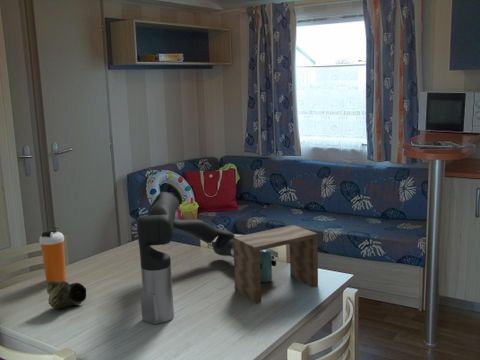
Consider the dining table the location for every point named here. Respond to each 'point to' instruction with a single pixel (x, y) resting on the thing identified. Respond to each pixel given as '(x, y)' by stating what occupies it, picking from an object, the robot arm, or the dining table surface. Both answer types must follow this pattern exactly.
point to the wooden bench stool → (251, 244)
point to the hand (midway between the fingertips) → (268, 265)
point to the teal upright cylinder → (266, 265)
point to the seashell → (65, 294)
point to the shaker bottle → (53, 254)
